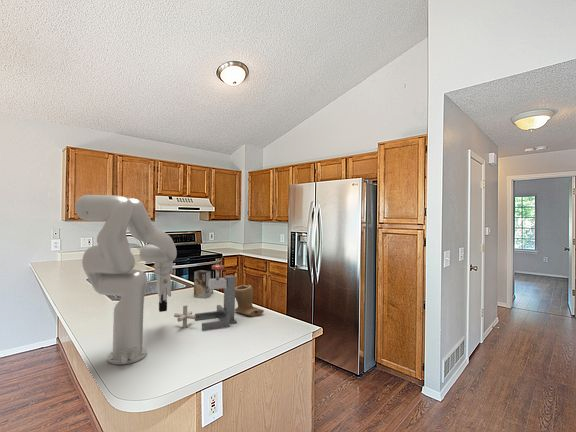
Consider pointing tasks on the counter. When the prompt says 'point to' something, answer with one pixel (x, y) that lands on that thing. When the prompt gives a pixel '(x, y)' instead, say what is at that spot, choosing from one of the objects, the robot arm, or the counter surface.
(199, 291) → the coffee box
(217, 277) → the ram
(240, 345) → the counter surface
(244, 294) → the brown boot vase
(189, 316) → the pipe connector
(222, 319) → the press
